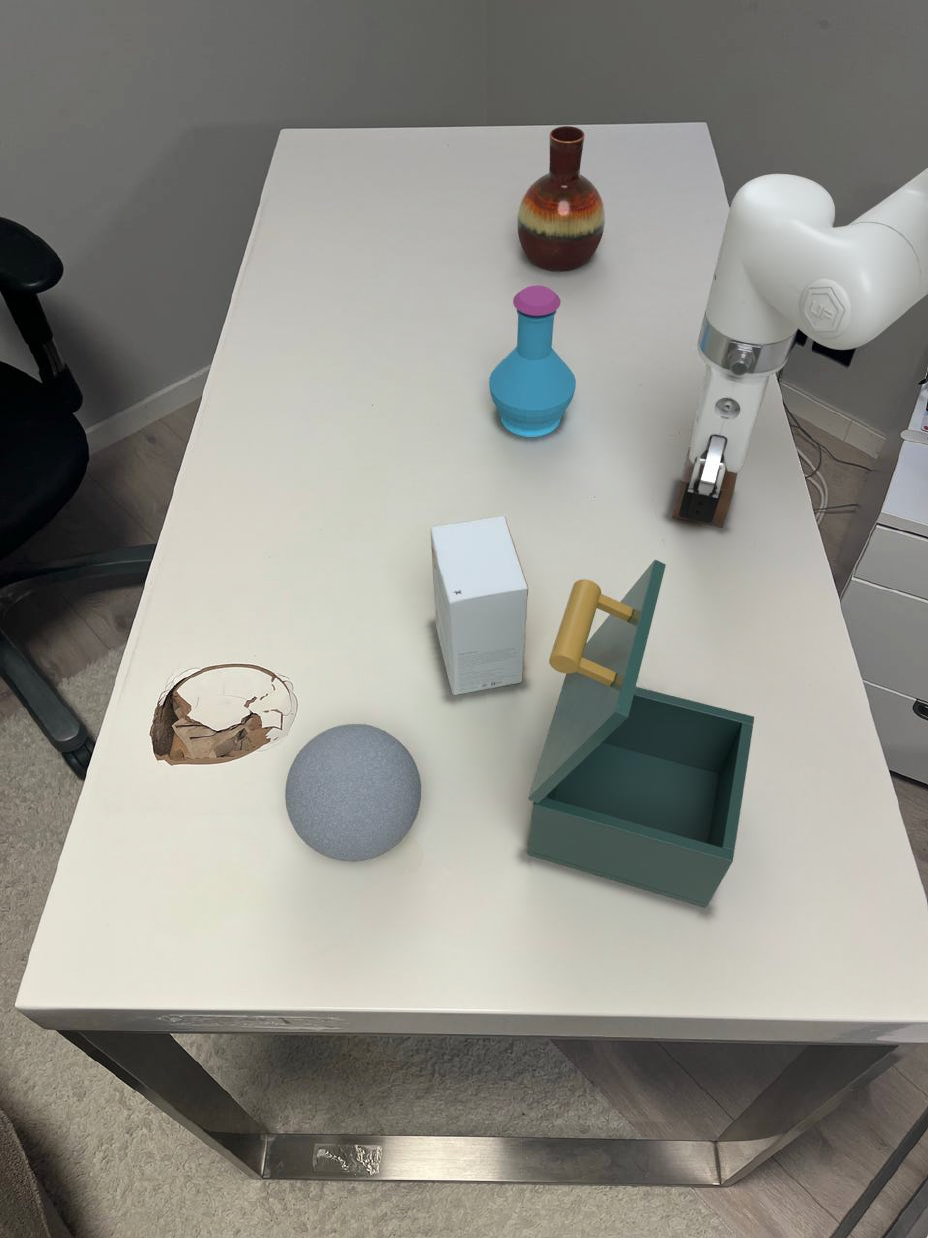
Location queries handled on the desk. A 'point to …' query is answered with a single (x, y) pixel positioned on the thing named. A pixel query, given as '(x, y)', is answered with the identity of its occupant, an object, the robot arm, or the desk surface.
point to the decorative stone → (353, 792)
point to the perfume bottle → (533, 370)
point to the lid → (595, 672)
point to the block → (726, 485)
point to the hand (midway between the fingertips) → (703, 482)
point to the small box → (479, 604)
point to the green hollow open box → (653, 800)
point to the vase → (561, 208)
